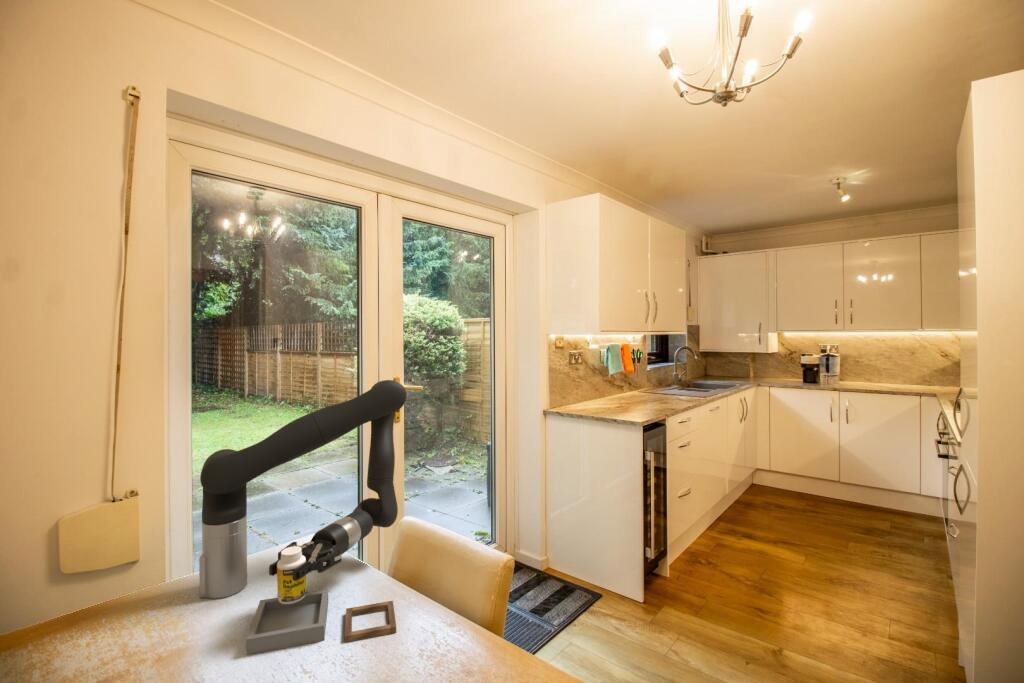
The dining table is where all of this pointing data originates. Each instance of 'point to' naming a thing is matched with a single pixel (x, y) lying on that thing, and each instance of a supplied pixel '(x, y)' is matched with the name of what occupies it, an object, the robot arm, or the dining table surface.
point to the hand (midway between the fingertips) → (282, 573)
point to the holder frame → (373, 631)
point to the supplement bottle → (290, 576)
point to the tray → (288, 623)
